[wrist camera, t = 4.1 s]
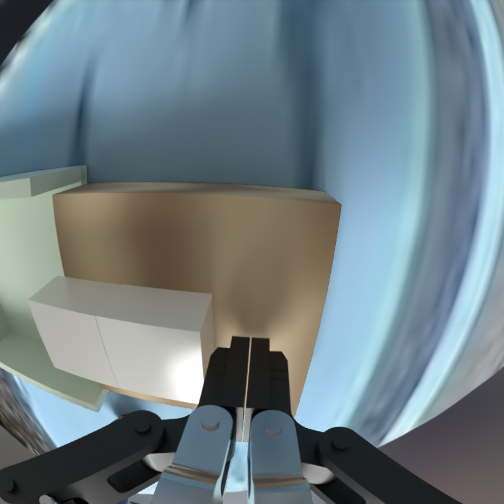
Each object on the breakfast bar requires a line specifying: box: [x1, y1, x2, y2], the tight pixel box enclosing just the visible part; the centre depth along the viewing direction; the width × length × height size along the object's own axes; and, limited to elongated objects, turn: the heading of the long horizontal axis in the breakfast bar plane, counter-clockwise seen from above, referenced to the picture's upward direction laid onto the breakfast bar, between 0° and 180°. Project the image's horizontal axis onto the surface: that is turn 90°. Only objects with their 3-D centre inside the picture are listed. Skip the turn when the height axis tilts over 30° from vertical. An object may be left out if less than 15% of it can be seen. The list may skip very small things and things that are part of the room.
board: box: [52, 182, 342, 417], centre depth 13 cm, size 12×12×3 cm
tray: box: [0, 165, 109, 412], centre depth 13 cm, size 13×14×4 cm
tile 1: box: [95, 284, 214, 404], centre depth 10 cm, size 4×4×2 cm
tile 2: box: [28, 276, 122, 388], centre depth 11 cm, size 4×4×2 cm
